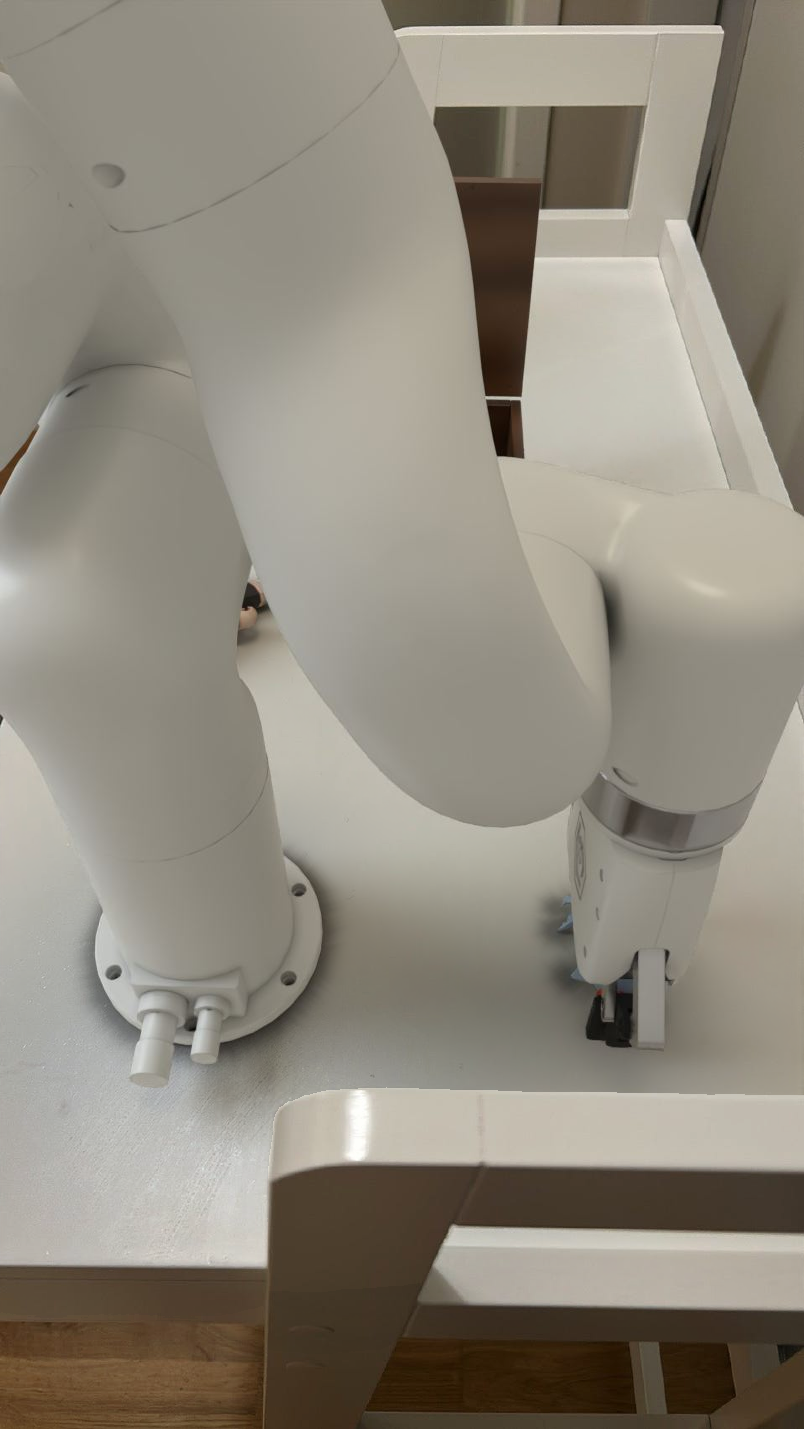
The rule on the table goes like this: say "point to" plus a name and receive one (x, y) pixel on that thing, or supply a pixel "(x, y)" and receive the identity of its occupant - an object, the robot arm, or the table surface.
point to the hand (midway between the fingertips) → (608, 960)
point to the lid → (501, 272)
